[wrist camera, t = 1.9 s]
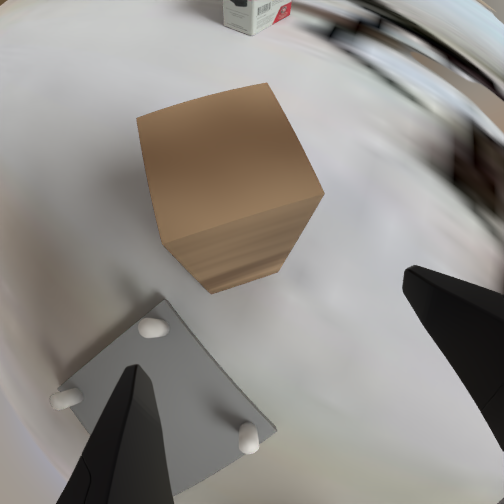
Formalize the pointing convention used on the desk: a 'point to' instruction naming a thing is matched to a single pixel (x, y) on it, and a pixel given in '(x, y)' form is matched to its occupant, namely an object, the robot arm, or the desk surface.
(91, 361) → the peg plate
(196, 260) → the walnut block
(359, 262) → the desk surface
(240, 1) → the ink box
